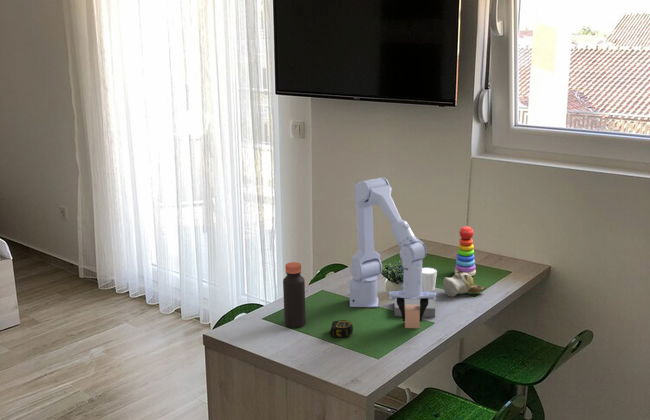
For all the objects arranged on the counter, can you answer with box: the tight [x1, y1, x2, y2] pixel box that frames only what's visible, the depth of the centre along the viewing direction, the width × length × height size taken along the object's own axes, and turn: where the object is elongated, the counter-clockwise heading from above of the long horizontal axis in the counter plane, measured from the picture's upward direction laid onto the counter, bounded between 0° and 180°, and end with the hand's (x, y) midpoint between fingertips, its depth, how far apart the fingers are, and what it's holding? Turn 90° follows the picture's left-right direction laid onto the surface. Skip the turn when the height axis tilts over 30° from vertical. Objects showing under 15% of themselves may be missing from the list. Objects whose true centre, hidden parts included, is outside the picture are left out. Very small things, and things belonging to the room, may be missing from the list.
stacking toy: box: [454, 225, 477, 277], centre depth 259 cm, size 8×8×19 cm
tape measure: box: [328, 319, 354, 338], centre depth 212 cm, size 7×7×4 cm
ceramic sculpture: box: [442, 271, 487, 297], centre depth 242 cm, size 11×9×15 cm
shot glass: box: [422, 267, 438, 292], centre depth 247 cm, size 7×7×7 cm
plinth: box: [394, 299, 436, 318], centre depth 229 cm, size 13×11×3 cm
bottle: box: [282, 261, 307, 329], centre depth 218 cm, size 7×7×20 cm
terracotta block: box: [404, 305, 421, 329], centre depth 218 cm, size 4×4×6 cm
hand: (412, 320), depth 218 cm, fingers closed on terracotta block, 4 cm apart
